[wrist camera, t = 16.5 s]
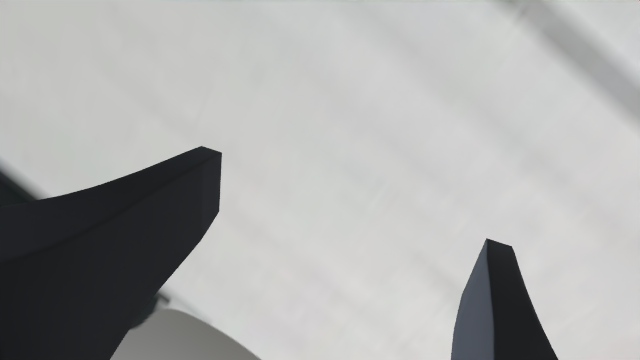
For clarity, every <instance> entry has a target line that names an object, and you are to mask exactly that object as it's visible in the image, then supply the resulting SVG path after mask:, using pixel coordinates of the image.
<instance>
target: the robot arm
mask: <svg viewBox="0 0 640 360" xmlns="http://www.w3.org/2000/svg"><path fill="white" fill-rule="evenodd" d="M221 159H222V153H221V152H218V151H215V150H212V149H209V148H206V147H203V146H201V147H198V148H195V149H192V150H190V151H187V152H185V153H182V154H180V155H177V156H175V157H172V158H170V159H168V160H165V161H163V162H160V163H158V164H155V165H153V166H150V167H148V168H145V169H143V170H140V171H138V172H135V173H132V174H130V175H127V176H124V177H121V178H118V179H115V180H113V181H110V182H107V183H104V184H101V185H98V186H95V187H91V188H88V189H84V190H81V191H77V192H73V193H69V194H65V195H61V196H57V197H52V198H47V199H41V200H36V201H31V202H26V203H21V204H14V205H7V206H0V360H110V358H111V357H112V355H113V354H114V352H115V351H116V349H117V347H118V346H119V344H120V343H121V341H122V340H123V338H124V336H125V335H126V334H127V332H128V331H129V329H130V328H131V326H132V325H133V323H134V322H135V320H136V319H137V318H138V316H139V315H140V313H141V312H142V310H143V309H144V307H145V306H146V305H147V304H148V302H149V301H150V300H151V299H152V297H153V296H154V295H155V294H156V292H157V291H158V290H159V289H160V288H161V287H162V285H163V284H164V283H165V282H166V281H167V280H168V278H169V277H170V276H171V275H172V274H173V273H174V271H175V270H176V269H177V268H178V267H179V266H180V264H181V263H182V262H183V261H184V260H185V259H186V257H187V256H188V255H189V254H190V253H191V251H192V250H193V249H194V248H195V247H196V245H197V244H198V243H199V242H200V241H201V239H202V238H203V236H204V235H205V233H206V232H207V230H208V229H209V227H210V225H211V224H212V222H213V220H214V219H215V217H216V216H217V214H218V212H219V202H220V180H221ZM451 360H558V358H557V356H556V354H555V352H554V350H553V349H552V347H551V345H550V343H549V340H548V338H547V336H546V334H545V332H544V330H543V328H542V326H541V324H540V321H539V319H538V317H537V314H536V312H535V310H534V307H533V305H532V302H531V300H530V297H529V295H528V292H527V289H526V287H525V284H524V281H523V278H522V275H521V272H520V269H519V266H518V263H517V260H516V256H515V253H514V250H513V248H512V246H509V245H505V244H502V243H499V242H496V241H493V240H490V239H487V238H486V241H485V243H484V245H483V248H482V250H481V252H480V255H479V257H478V259H477V261H476V264H475V266H474V268H473V271H472V273H471V275H470V278H469V280H468V282H467V284H466V287H465V289H464V291H463V294H462V297H461V301H460V305H459V309H458V314H457V318H456V323H455V327H454V334H453V343H452V353H451Z"/></svg>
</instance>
